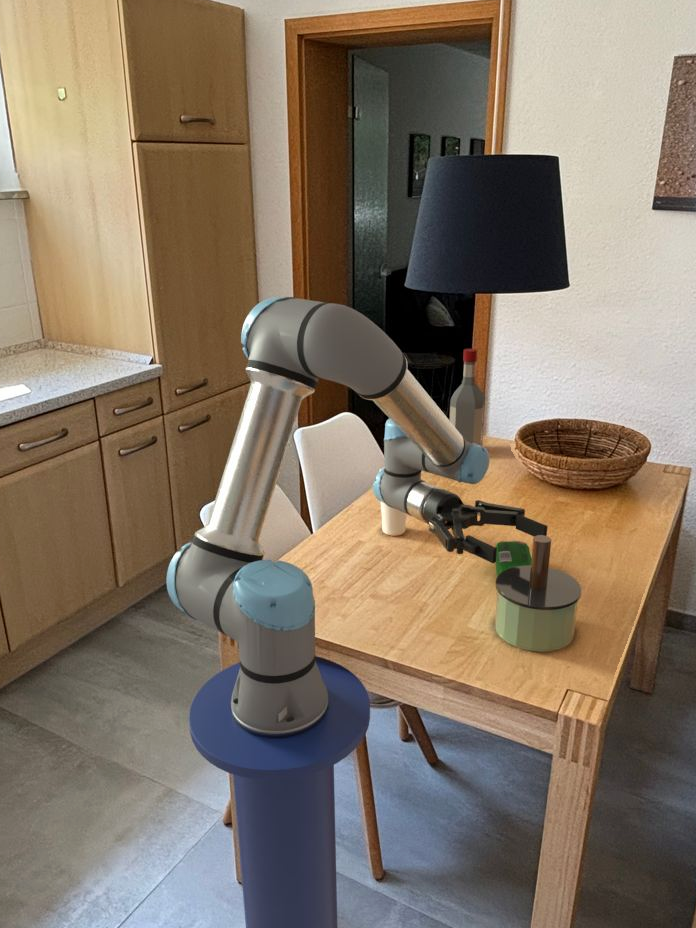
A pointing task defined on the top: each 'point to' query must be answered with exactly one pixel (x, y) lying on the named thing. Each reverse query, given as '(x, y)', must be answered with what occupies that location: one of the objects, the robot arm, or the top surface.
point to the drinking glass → (392, 520)
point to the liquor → (468, 403)
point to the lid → (538, 582)
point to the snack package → (511, 555)
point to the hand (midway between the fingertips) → (521, 544)
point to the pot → (534, 626)
